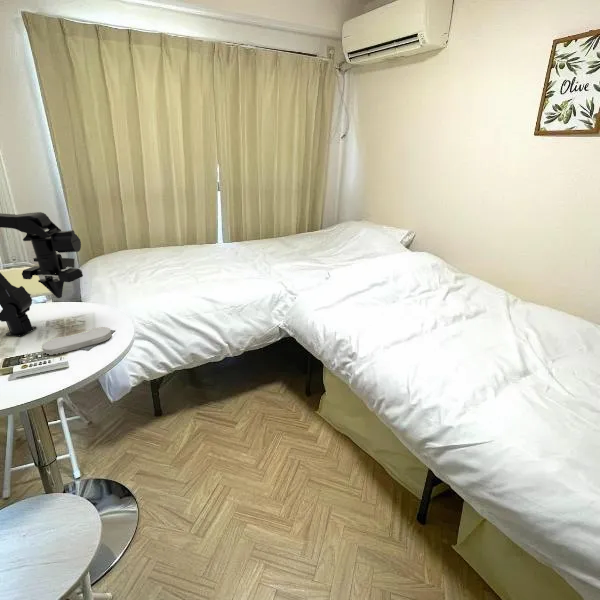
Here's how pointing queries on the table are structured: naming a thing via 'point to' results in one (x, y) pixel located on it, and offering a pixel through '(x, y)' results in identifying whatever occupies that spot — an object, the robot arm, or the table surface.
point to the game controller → (77, 340)
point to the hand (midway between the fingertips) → (59, 297)
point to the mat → (92, 345)
